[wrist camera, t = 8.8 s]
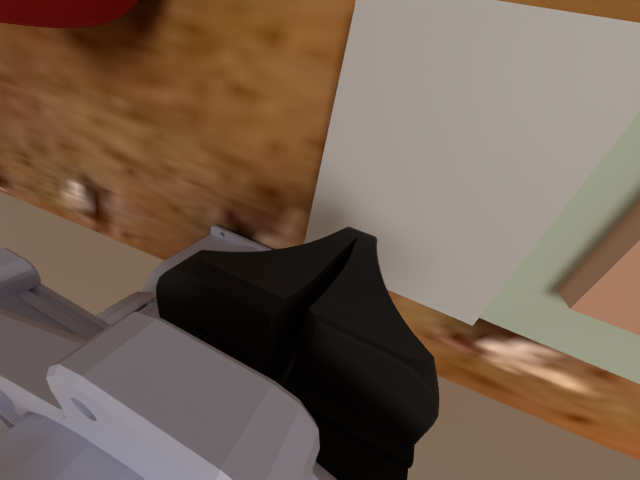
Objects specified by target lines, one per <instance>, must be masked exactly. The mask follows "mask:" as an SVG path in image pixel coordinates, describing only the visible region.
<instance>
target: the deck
mask: <svg viewBox="0 0 640 480" xmlns="http://www.w3.org/2000/svg"><path fill="white" fill-rule="evenodd" d="M639 112H640V23H636V22H630V21H624V20H617V19H611V18H605V17H598V16H592V15H586V14H579V13H573V12H567V11H560V10H554V9H548V8H541V7H535V6H529V5H522V4H516V3H510V2H503V1H497V0H356V3H355V8H354V13H353V17H352V22H351V27H350V31H349V36H348V41H347V45H346V50H345V55H344V59H343V64H342V69H341V73H340V78H339V83H338V87H337V92H336V97H335V101H334V106H333V111H332V115H331V120H330V125H329V129H328V134H327V139H326V143H325V148H324V153H323V157H322V162H321V167H320V171H319V176H318V181H317V185H316V190H315V195H314V199H313V204H312V209H311V213H310V218H309V223H308V227H307V232H306V237H305V241H304V244H306V243H309V242H312V241H315V240H318V239H321V238H323V237H326V236H328V235H331V234H333V233H335V232H337V231H339V230H342V229H344V228H346V227H352V228H354V229H357V230H359V231H362V232H365V233H367V234H370V235H373V236H375V237H376V238H377V240H378V241H377V255H378V261H379V266H380V270H381V274H382V277H383V281H384V283H385V286H386V289H387V290H390V291H392V292H394V293H397V294H399V295H401V296H404V297H406V298H409V299H411V300H413V301H416V302H418V303H420V304H423V305H425V306H427V307H430V308H432V309H435V310H437V311H439V312H442V313H444V314H446V315H449V316H451V317H453V318H456V319H458V320H461V321H463V322H465V323H468V324H470V325H472V326H473V325H474V323H475V322H476V321H477V319H478V318H479V317H480V316H481V314H482V313H483V312H484V311H485V309H486V308H487V307H488V305H489V304H490V303H491V302H492V300H493V299H494V298H495V296H496V295H497V294H498V293H499V291H500V290H501V289H502V287H503V286H504V285H505V284H506V282H507V281H508V280H509V278H510V277H511V276H512V275H513V273H514V272H515V271H516V269H517V268H518V267H519V266H520V264H521V263H522V262H523V261H524V259H525V258H526V257H527V255H528V254H529V253H530V252H531V250H532V249H533V248H534V246H535V245H536V244H537V243H538V241H539V240H540V239H541V237H542V236H543V235H544V234H545V232H546V231H547V230H548V228H549V227H550V226H551V225H552V223H553V222H554V221H555V220H556V218H557V217H558V216H559V214H560V213H561V212H562V211H563V209H564V208H565V207H566V205H567V204H568V203H569V202H570V200H571V199H572V198H573V196H574V195H575V194H576V193H577V191H578V190H579V189H580V187H581V186H582V185H583V184H584V182H585V181H586V180H587V178H588V177H589V176H590V175H591V173H592V172H593V171H594V170H595V168H596V167H597V166H598V164H599V163H600V162H601V161H602V159H603V158H604V157H605V155H606V154H607V153H608V152H609V150H610V149H611V148H612V146H613V145H614V144H615V143H616V141H617V140H618V139H619V137H620V136H621V135H622V134H623V132H624V131H625V130H626V129H627V127H628V126H629V125H630V123H631V122H632V121H633V120H634V118H635V117H636V116H637V114H638V113H639Z"/></svg>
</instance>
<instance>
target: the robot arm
mask: <svg viewBox="0 0 640 480" xmlns="http://www.w3.org/2000/svg"><path fill="white" fill-rule="evenodd" d="M223 233H224V234H223ZM377 241H378V240H377V238H376V237H375V236H373V235H370V234H367V233H365V232H362V231H359V230H357V229H354V228H352V227H346V228H344V229H342V230H339V231H337V232H335V233H333V234H331V235H328V236H326V237H323V238H321V239H318V240H315V241H312V242H309V243H306V244H302V245H298V246H294V247H289V248H284V249H276V250H272V249H270V248H268V247H265V246H263V245H261V244H259V243H256V242H254V241H252V240H249V239H247V238H245V237H242V236H240V235H238V234H235V233H233V232H231V231H228V230H226V229H224V228H221V227H219V226H217V225H214V226H212V227H211V234H210V235H208V236H207V237H205V238H203V239H201V240H200V241H198V242H196V243H194V244H193V245H191V246H189V247H187V248H186V249H184V250H182V251H180V252H179V253H177V254H175V255H173V256H172V257H170V258H168V259H167V260H165V261H164V262H162V263H161V264H160V265H159V266H158V267H157V268H156V269H155V270H154V271H153V272H152V273H151V275H150V276H149V277H148V279H147V280H146V282H145V284H144V288H143V291H142V292H136V293H134V294H131V295H130V296H128V297H126V298H124V299H122V300H121V301H119V302H117V303H116V304H114V305H112V306H111V307H109V308H107V309H106V310H104V311H103V312H101V313H100V314H98V315H96V316H95V315H93V314H91V313H90V312H88V311H86V310H85V309H83V308H81V307H79V306H78V305H76V304H74V303H73V302H71V301H70V300H68V299H66V298H65V297H63V296H61V295H59V294H58V293H56V292H54V291H53V290H51V289H49V288H48V287H46V286H44V285H43V284H41V279H40V276H39V274H38V272H37V270H36V269H35V267H34V266H33V265H32V264H31V263H30V262H29V261H28V260H26V259H25V258H23V257H21V256H19V255H18V254H16V253H14V252H13V251H11V250H9V249H7V248H3V247H2V248H0V480H407V474H408V468H410V467H411V466H412V464H413V458H414V445H415V444H416V442H418V440H419V439H420V438H421V437H422V436H423V435H424V434H425V433H426V432H427V431H428V430H429V429H430V428H431V427H432V426H433V424H434V423H435V421H436V419H437V417H438V412H439V388H438V381H437V374H436V367H435V361H434V357H433V356H432V355H431V353H430V352H429V351H428V350H427V349H426V348H425V346H424V345H423V344H422V343H421V342H420V341H419V339H418V338H417V337H416V336H415V335H414V334H413V332H412V331H411V330H410V328H409V327H408V325H407V324H406V323H405V321H404V320H403V318H402V317H401V315H400V314H399V312H398V310H397V309H396V307H395V305H394V303H393V302H392V300H391V298H390V296H389V293H388V291H387V289H386V286H385V283H384V281H383V277H382V274H381V270H380V266H379V261H378V255H377Z"/></svg>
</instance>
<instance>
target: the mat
mask: <svg viewBox="0 0 640 480" xmlns="http://www.w3.org/2000/svg"><path fill="white" fill-rule="evenodd" d="M639 201H640V112H639V113H638V114H637V116H636V117H635V118H634V120H633V121H632V122H631V123H630V125H629V126H628V127H627V129H626V130H625V131H624V132H623V134H622V135H621V136H620V137H619V139H618V140H617V141H616V143H615V144H614V145H613V146H612V148H611V149H610V150H609V152H608V153H607V154H606V155H605V157H604V158H603V159H602V161H601V162H600V163H599V164H598V166H597V167H596V168H595V170H594V171H593V172H592V173H591V175H590V176H589V177H588V178H587V180H586V181H585V182H584V184H583V185H582V186H581V187H580V189H579V190H578V191H577V193H576V194H575V195H574V196H573V198H572V199H571V200H570V202H569V203H568V204H567V205H566V207H565V208H564V209H563V211H562V212H561V213H560V214H559V216H558V217H557V218H556V220H555V221H554V222H553V223H552V225H551V226H550V227H549V228H548V230H547V231H546V232H545V234H544V235H543V236H542V237H541V239H540V240H539V241H538V243H537V244H536V245H535V246H534V248H533V249H532V250H531V252H530V253H529V254H528V255H527V257H526V258H525V259H524V261H523V262H522V263H521V264H520V266H519V267H518V268H517V269H516V271H515V272H514V273H513V275H512V276H511V277H510V278H509V280H508V281H507V282H506V284H505V285H504V286H503V287H502V289H501V290H500V291H499V293H498V294H497V295H496V296H495V298H494V299H493V300H492V302H491V303H490V304H489V305H488V307H487V308H486V309H485V311H484V312H483V313H482V314H481V316H480V317H479V318H481V319H484V320H486V321H488V322H491V323H493V324H496V325H498V326H500V327H503V328H505V329H508V330H510V331H513V332H515V333H517V334H520V335H522V336H525V337H527V338H529V339H532V340H534V341H537V342H539V343H541V344H544V345H546V346H549V347H551V348H554V349H556V350H558V351H561V352H563V353H566V354H568V355H570V356H573V357H575V358H578V359H580V360H583V361H585V362H587V363H590V364H592V365H595V366H597V367H599V368H602V369H604V370H607V371H609V372H611V373H614V374H616V375H619V376H621V377H624V378H626V379H628V380H631V381H633V382H636V383H638V384H640V335H637V334H635V333H632V332H629V331H627V330H624V329H621V328H619V327H616V326H613V325H611V324H608V323H606V322H603V321H600V320H598V319H595V318H592V317H590V316H587V315H584V314H582V313H579V312H576V311H574V310H571V309H569V307H568V306H567V304H566V302H565V301H564V299H563V298H562V296H561V295H560V293H559V291H558V290H557V289H558V288H559V287H560V286H561V285H562V284H563V282H564V281H565V280H566V279H567V278H568V277H569V276H570V275H571V274H572V273H573V272H574V271H575V270H576V269H577V267H578V266H579V265H580V264H581V263H582V262H583V261H584V260H585V259H586V258H587V257H588V256H589V255H590V253H591V252H592V251H593V250H594V249H595V248H596V247H597V246H598V245H599V244H600V243H601V242H602V241H603V239H604V238H605V237H606V236H607V235H608V234H609V233H610V232H611V231H612V230H613V229H614V228H615V227H616V226H617V224H618V223H619V222H620V221H621V220H622V219H623V218H624V217H625V216H626V215H627V214H628V213H629V212H630V210H631V209H632V208H633V207H634V206H635V205H636V204H637V203H638V202H639Z"/></svg>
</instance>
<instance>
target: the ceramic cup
mask: <svg viewBox="0 0 640 480" xmlns="http://www.w3.org/2000/svg"><path fill="white" fill-rule="evenodd" d="M138 1H139V0H0V23H8V24H16V25H25V26H35V27H48V28H78V27H90V26H97V25H102V24H105V23H108V22H111V21H113V20H115V19H116V18H118V17H120V16H122V15H124V14H126V13H127V12H128V11H130V10H131V9H132V8H133V7H134V6H135V5H136V4H137V3H138Z"/></svg>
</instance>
